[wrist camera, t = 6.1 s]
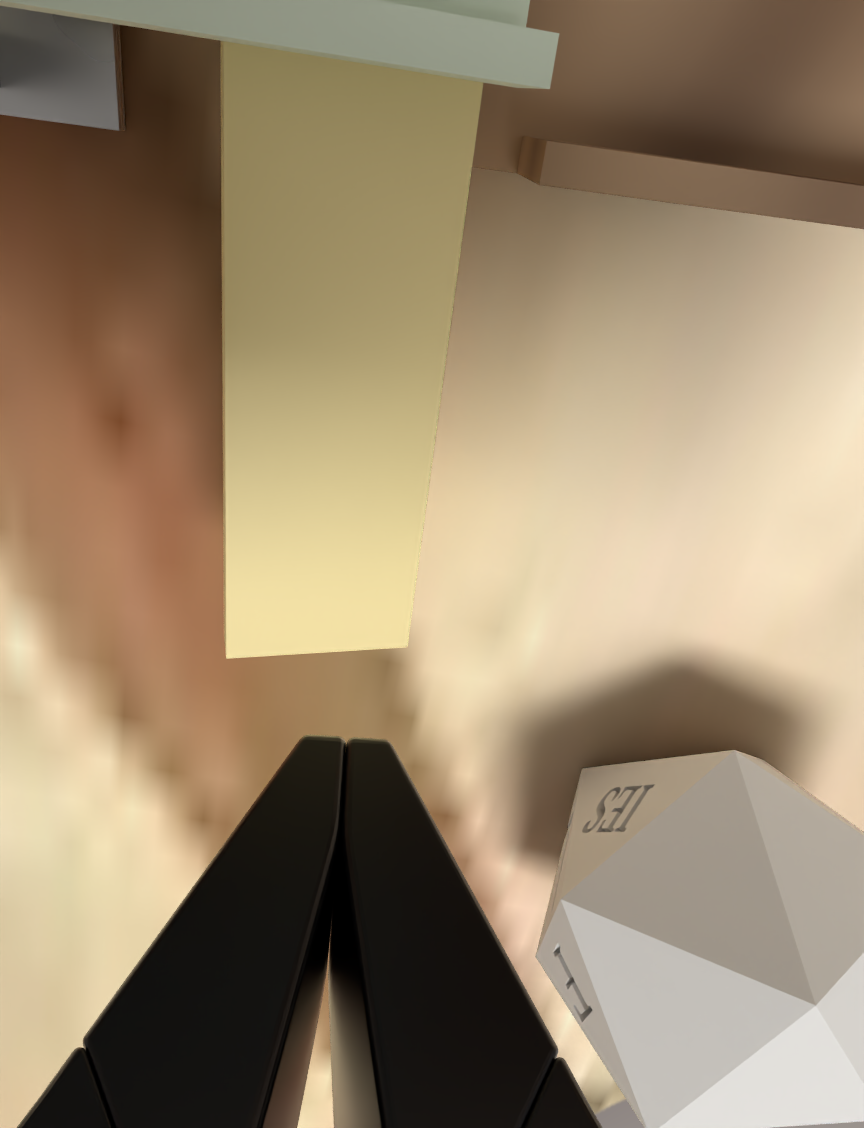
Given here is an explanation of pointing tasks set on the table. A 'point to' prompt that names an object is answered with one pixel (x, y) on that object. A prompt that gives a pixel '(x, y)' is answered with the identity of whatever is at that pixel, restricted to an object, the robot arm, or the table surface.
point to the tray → (693, 106)
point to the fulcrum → (61, 69)
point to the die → (713, 942)
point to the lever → (336, 287)
